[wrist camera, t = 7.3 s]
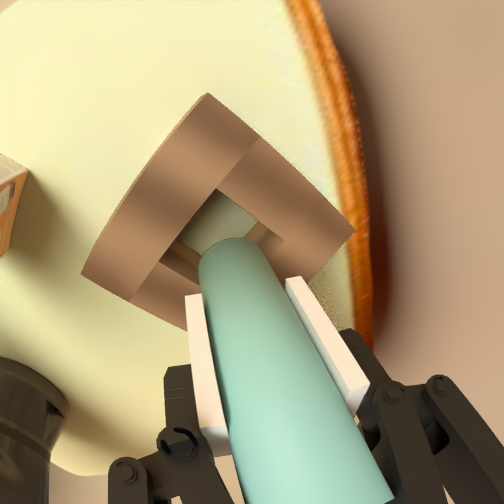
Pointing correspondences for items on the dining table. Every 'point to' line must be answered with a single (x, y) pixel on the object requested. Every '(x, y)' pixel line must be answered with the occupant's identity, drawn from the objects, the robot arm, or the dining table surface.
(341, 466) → the peg
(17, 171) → the small box
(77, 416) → the dining table surface
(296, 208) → the socket
